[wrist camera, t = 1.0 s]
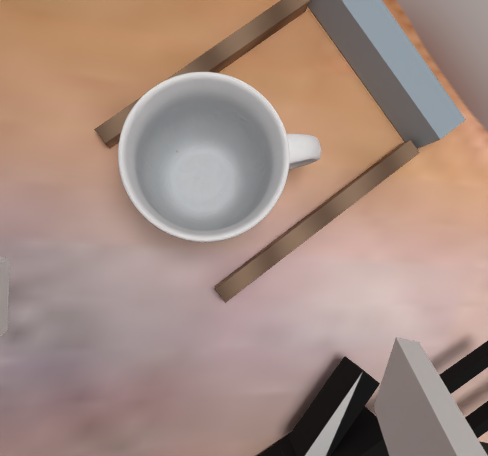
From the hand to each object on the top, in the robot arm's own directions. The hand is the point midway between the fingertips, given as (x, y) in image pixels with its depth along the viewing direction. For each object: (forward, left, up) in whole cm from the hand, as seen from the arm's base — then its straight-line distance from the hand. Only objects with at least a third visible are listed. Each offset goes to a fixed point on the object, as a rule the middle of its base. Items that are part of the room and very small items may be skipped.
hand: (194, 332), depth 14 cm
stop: (-22, +14, -25) cm, 36 cm away
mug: (-9, 0, -26) cm, 27 cm away
